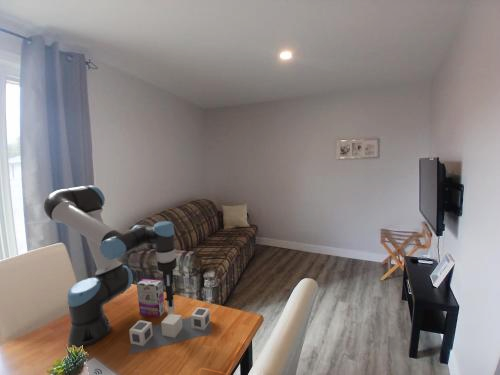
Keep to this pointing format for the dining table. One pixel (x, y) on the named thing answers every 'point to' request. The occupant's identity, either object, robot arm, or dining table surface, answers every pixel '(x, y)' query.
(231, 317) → the dining table surface
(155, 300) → the candy bar box
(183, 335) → the grey mat
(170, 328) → the plain block
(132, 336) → the marked block
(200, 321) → the marked block
